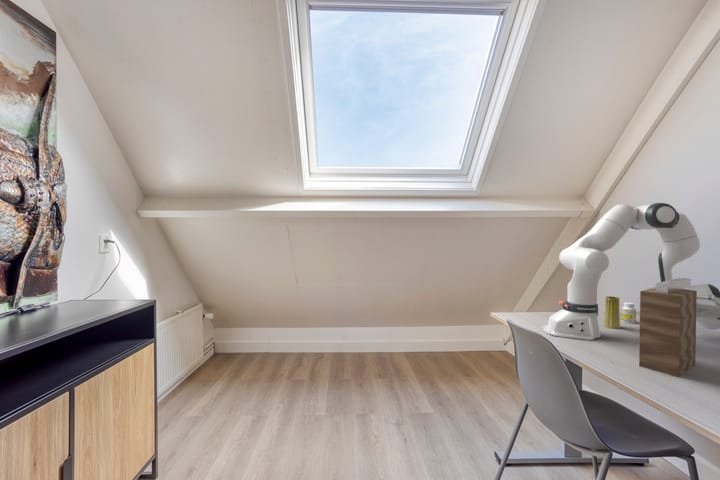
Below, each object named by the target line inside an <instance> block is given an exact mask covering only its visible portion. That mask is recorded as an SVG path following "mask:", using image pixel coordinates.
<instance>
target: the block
mask: <svg viewBox="0 0 720 480" xmlns="http://www.w3.org/2000/svg"><path fill="white" fill-rule="evenodd" d="M691 283H692V278H688V277H687V278H686V277H676V278H673V279H672V280H668V281H664V282H661V281H660V282H657V283H655V287H656V292H658V293H666V294H668V293H672V292H675V291H679V290H682V289H685V288H689V287H691V286H692V285H691Z"/></svg>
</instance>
